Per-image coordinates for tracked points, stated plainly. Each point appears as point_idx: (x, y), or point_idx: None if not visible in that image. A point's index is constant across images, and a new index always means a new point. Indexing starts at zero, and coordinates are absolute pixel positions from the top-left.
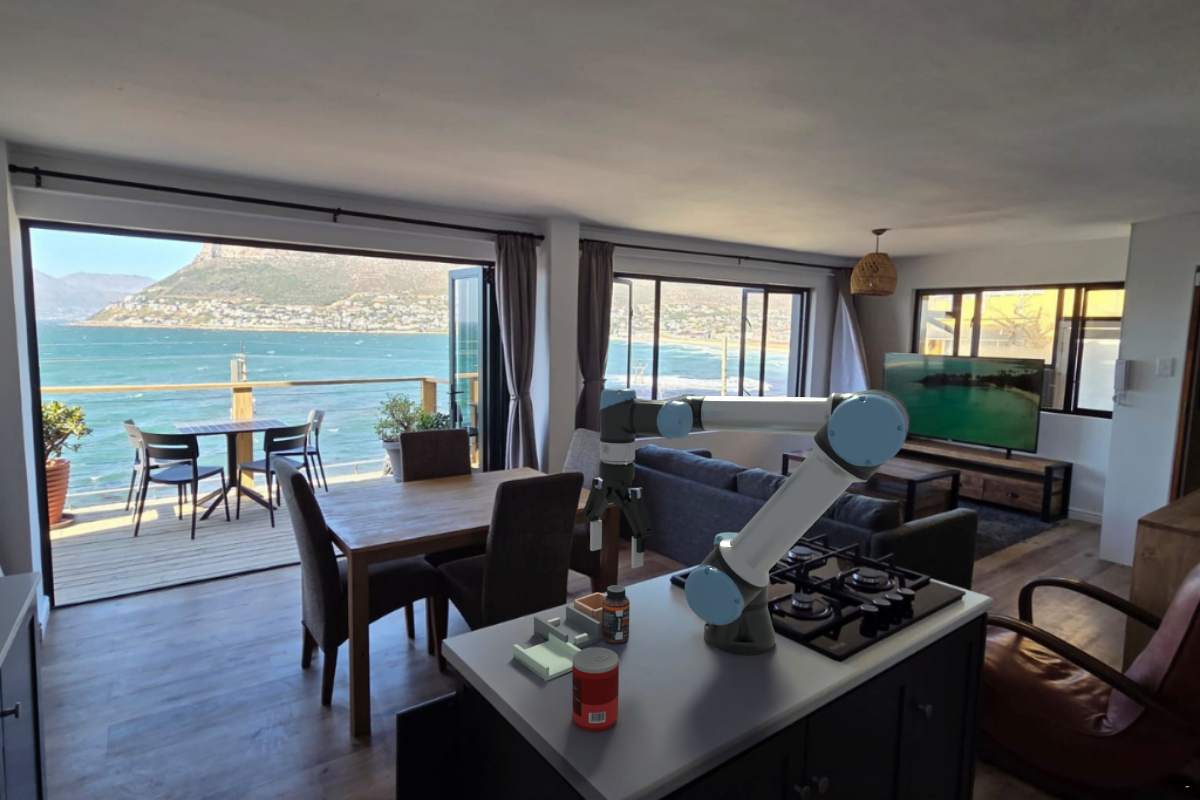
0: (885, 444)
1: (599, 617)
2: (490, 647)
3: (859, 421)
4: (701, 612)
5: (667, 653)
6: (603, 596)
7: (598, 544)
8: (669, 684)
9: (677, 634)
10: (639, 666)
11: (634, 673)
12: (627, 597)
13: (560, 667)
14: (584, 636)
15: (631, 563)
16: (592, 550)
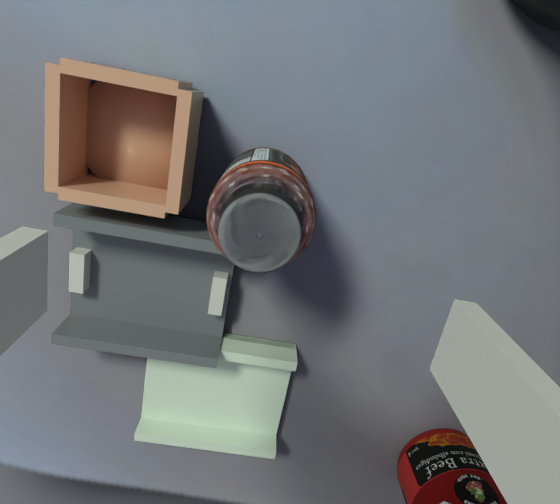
0: None
1: (185, 190)
2: (64, 420)
3: None
4: None
5: (438, 162)
6: (94, 79)
7: (28, 274)
8: (510, 286)
9: (408, 25)
10: (408, 267)
11: (415, 300)
12: (290, 181)
13: (270, 401)
14: (224, 290)
15: (438, 383)
16: (45, 311)
